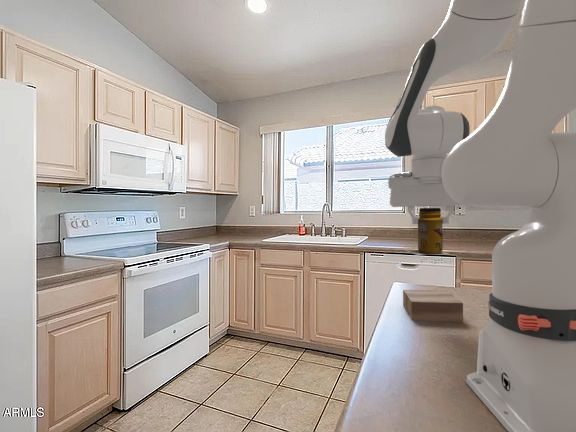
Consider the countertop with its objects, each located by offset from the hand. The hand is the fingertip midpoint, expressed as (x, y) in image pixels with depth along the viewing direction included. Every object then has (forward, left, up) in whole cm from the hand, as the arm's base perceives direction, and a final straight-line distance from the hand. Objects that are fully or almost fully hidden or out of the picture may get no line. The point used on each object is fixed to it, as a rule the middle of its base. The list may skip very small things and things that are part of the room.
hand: (430, 223), depth 86 cm
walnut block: (0, 0, -24) cm, 24 cm away
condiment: (0, +1, -8) cm, 8 cm away
